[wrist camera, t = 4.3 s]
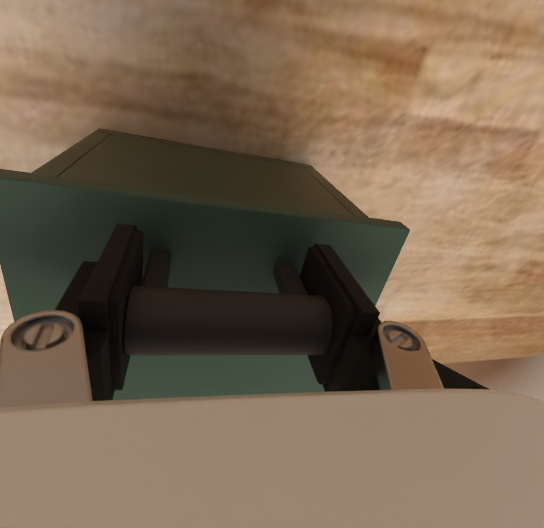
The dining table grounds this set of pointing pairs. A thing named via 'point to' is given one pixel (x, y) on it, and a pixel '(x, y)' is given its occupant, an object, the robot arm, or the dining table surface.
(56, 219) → the bin lid
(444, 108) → the dining table surface
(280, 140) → the dining table surface
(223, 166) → the trash bin
